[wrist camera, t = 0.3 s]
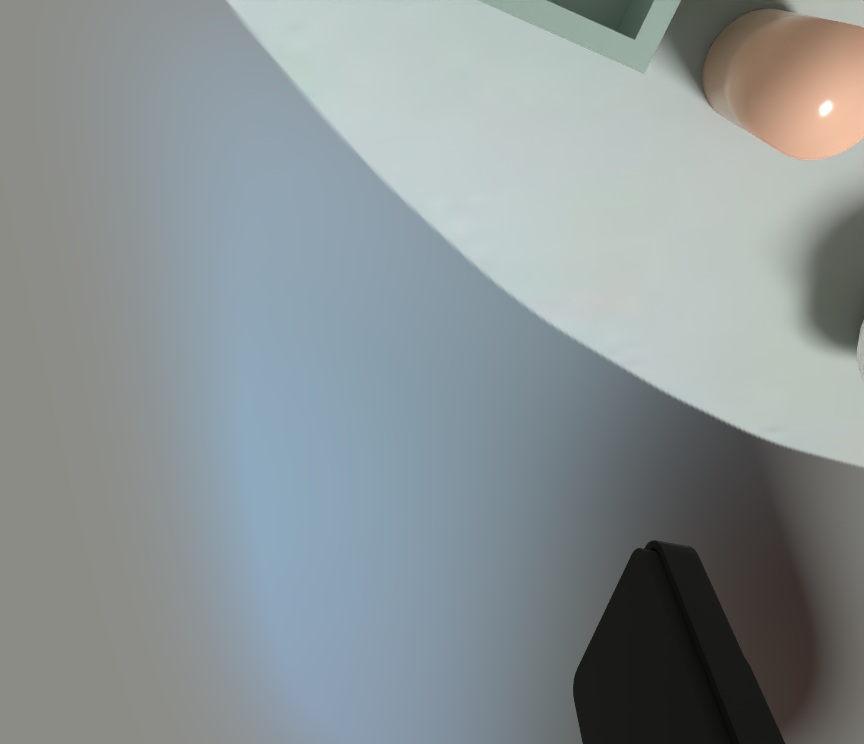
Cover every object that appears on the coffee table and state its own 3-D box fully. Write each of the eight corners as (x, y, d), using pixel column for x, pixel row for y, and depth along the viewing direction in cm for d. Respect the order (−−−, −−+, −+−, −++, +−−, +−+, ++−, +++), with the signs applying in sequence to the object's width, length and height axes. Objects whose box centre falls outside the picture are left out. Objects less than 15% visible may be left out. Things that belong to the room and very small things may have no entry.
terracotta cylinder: (740, -11, 34) (810, 1, 28) (834, 34, 35) (920, 55, 29) (682, 99, 36) (734, 132, 30) (771, 138, 37) (839, 178, 31)
